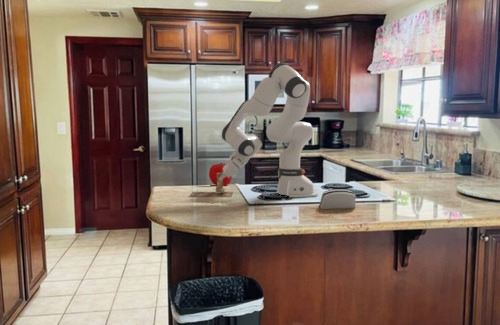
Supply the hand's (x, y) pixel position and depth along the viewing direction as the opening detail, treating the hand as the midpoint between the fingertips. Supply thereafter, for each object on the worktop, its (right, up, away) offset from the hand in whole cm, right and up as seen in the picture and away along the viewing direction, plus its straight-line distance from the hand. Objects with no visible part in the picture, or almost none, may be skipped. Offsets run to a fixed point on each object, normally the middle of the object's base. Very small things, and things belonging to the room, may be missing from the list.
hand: (219, 179), depth 224 cm
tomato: (-1, -5, +33) cm, 33 cm away
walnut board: (-4, -9, 0) cm, 10 cm away
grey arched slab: (+58, -13, -25) cm, 64 cm away
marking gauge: (+1, -7, +1) cm, 7 cm away
